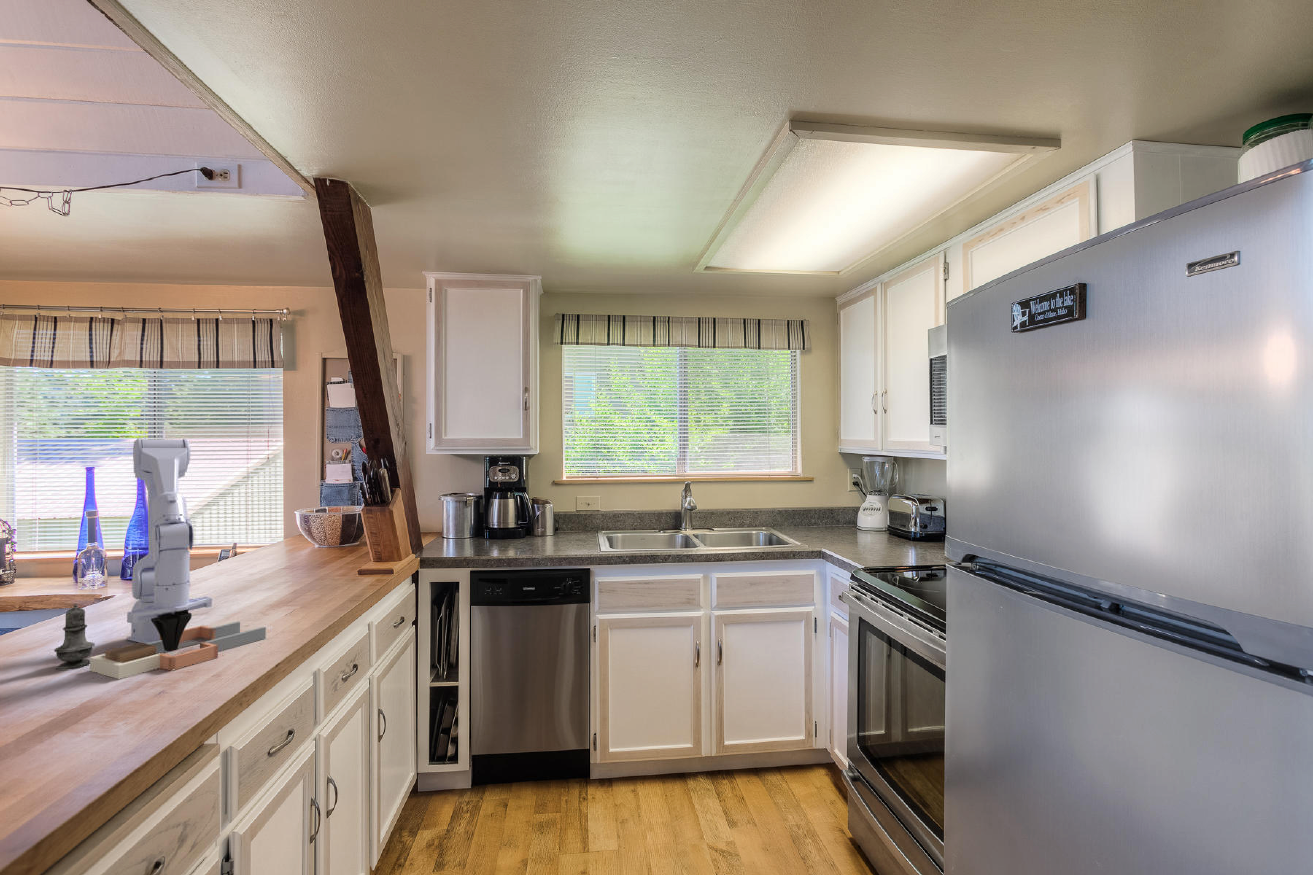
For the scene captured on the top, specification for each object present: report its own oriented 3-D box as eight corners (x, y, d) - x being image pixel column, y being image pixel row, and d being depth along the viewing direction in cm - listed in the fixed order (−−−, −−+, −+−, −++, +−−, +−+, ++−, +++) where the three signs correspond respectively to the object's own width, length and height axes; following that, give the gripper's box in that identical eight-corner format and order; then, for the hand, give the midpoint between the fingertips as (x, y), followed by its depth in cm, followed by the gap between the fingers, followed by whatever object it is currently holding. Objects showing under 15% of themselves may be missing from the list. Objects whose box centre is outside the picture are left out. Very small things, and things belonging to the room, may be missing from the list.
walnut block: (104, 672, 123) (105, 651, 123) (140, 662, 128) (140, 642, 128) (120, 676, 121) (120, 655, 121) (155, 666, 126) (156, 645, 126)
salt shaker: (70, 671, 122) (71, 608, 122) (45, 669, 123) (46, 606, 124) (102, 661, 128) (103, 600, 128) (78, 659, 129) (79, 598, 129)
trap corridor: (79, 667, 125) (80, 654, 125) (227, 630, 150) (227, 619, 150) (130, 682, 117) (130, 668, 117) (276, 640, 142) (276, 629, 142)
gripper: (142, 592, 123) (140, 664, 123) (221, 578, 136) (220, 642, 136) (121, 588, 126) (120, 658, 126) (201, 574, 139) (200, 638, 139)
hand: (170, 650), depth 131 cm, fingers closed
